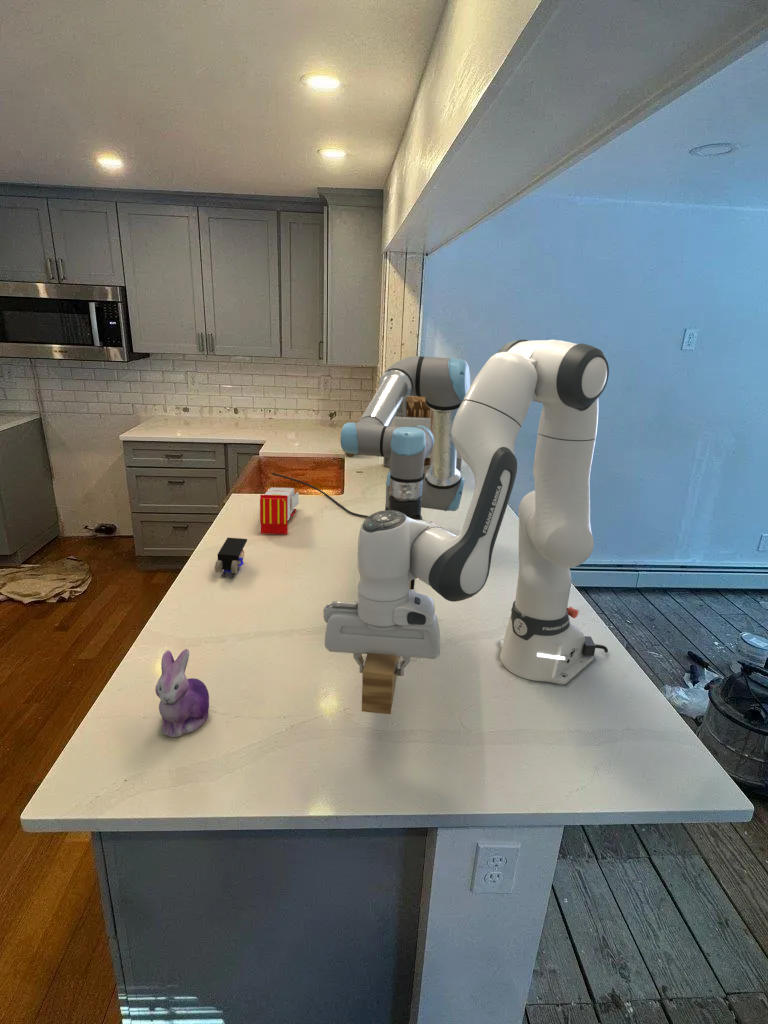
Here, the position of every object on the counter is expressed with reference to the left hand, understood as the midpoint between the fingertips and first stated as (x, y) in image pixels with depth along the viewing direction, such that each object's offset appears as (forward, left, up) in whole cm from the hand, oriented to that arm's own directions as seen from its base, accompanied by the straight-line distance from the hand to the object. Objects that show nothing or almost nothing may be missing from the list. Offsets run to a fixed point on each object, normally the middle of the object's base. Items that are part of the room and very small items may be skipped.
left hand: (400, 585), depth 138 cm
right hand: (+26, -28, +2) cm, 38 cm away
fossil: (-145, +101, -11) cm, 177 cm away
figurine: (+2, -55, -11) cm, 56 cm away
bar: (+13, -14, -1) cm, 19 cm away
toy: (-80, +14, -11) cm, 82 cm away
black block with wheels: (-53, -19, -11) cm, 57 cm away
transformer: (-98, +102, -11) cm, 142 cm away
